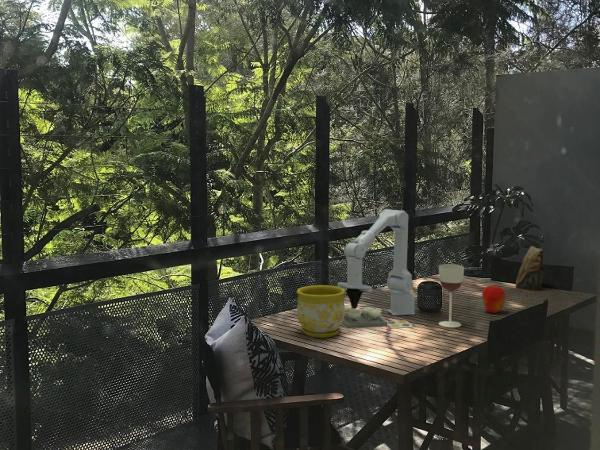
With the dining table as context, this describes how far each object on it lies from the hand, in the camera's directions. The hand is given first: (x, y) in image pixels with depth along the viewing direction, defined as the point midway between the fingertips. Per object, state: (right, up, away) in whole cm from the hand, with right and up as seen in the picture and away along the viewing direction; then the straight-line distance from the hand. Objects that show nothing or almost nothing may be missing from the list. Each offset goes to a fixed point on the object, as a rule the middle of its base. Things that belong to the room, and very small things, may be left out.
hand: (354, 307), depth 249 cm
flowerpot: (-13, -8, -9) cm, 18 cm away
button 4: (+8, -5, +2) cm, 9 cm away
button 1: (-1, -4, +8) cm, 9 cm away
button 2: (0, -5, +1) cm, 5 cm away
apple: (+60, -4, +19) cm, 63 cm away
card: (+17, -7, +1) cm, 19 cm away
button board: (+3, -6, +5) cm, 9 cm away
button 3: (+7, -5, +10) cm, 13 cm away
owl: (+91, +1, +64) cm, 111 cm away
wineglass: (+38, -7, +1) cm, 38 cm away
